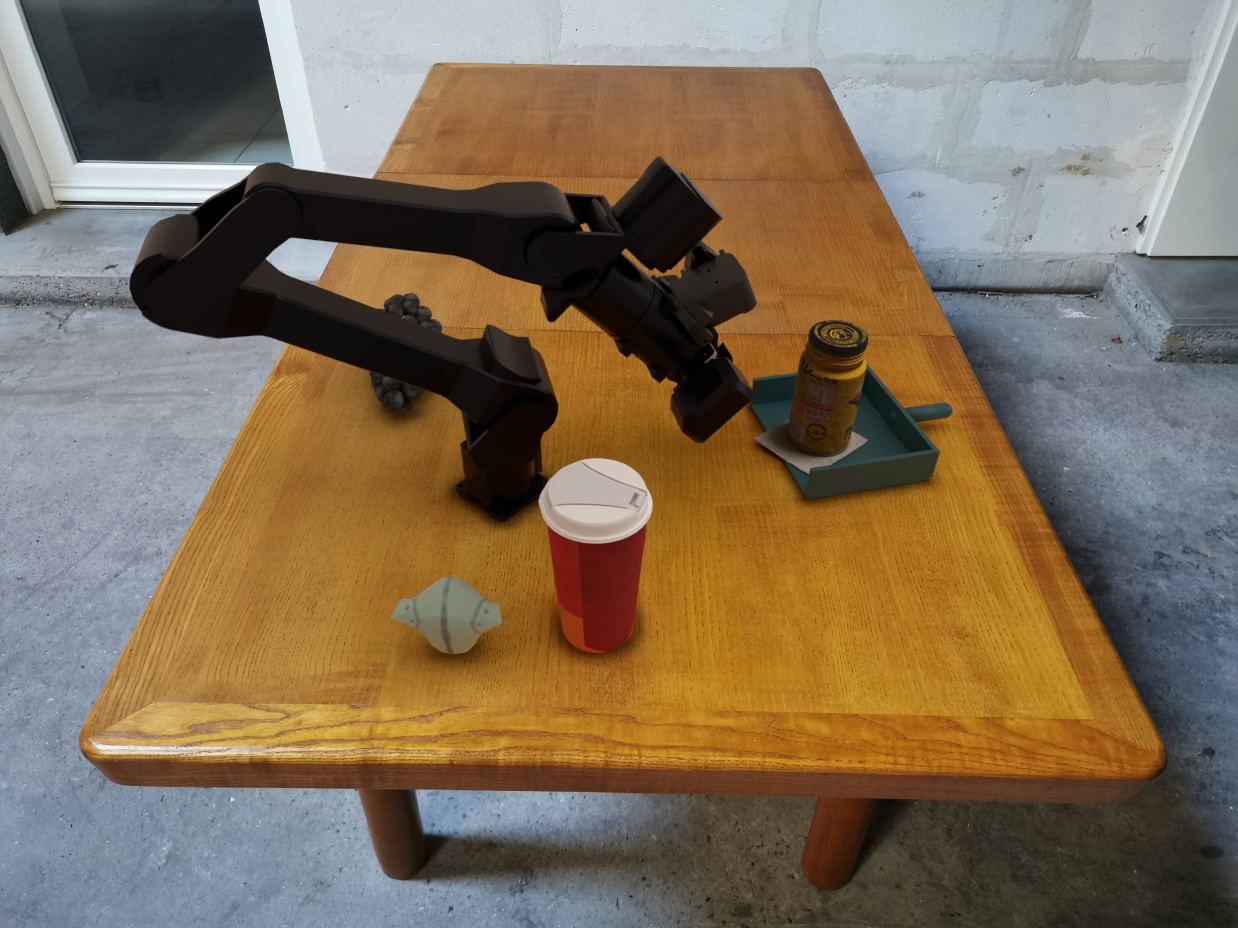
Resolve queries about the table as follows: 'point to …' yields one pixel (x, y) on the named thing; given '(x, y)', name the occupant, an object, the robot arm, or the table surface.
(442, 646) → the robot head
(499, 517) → the robot arm
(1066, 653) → the table surface
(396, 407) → the fruit
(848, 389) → the condiment
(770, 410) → the teal dustpan
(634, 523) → the paper cup
